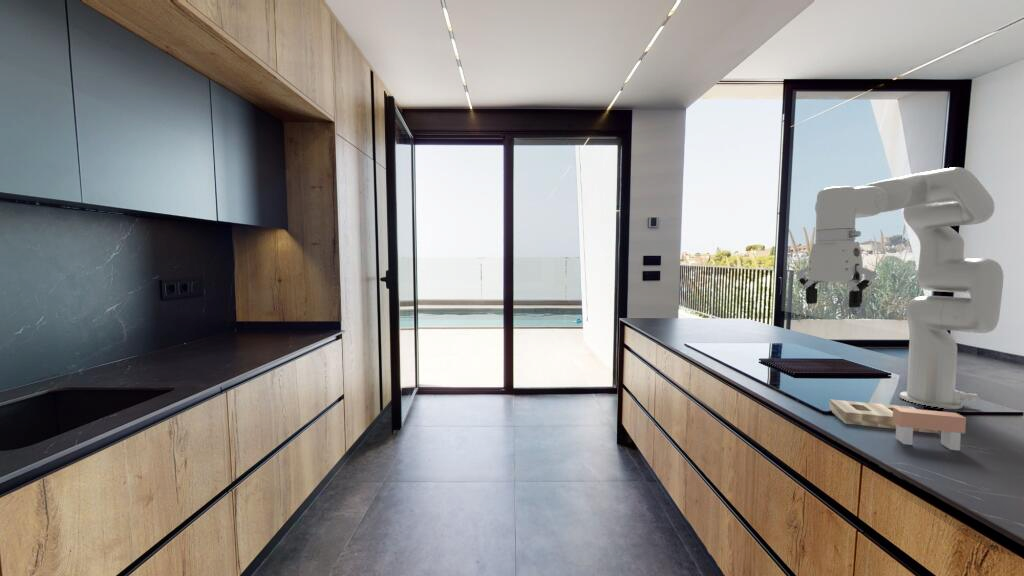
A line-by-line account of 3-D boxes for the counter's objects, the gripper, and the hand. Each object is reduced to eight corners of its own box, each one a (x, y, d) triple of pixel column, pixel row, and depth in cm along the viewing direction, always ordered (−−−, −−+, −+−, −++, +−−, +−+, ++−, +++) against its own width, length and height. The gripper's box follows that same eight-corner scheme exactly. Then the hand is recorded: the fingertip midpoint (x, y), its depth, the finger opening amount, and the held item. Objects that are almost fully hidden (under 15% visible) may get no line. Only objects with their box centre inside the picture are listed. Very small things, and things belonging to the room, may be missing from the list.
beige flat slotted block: (912, 417, 102) (912, 406, 101) (937, 433, 92) (938, 421, 92) (829, 409, 108) (829, 399, 108) (845, 423, 99) (845, 412, 99)
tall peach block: (954, 445, 86) (956, 412, 86) (964, 451, 84) (966, 417, 83) (891, 437, 90) (893, 407, 90) (899, 443, 88) (900, 411, 87)
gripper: (887, 234, 89) (883, 308, 90) (808, 239, 105) (806, 301, 106) (866, 234, 86) (863, 309, 87) (789, 239, 103) (787, 302, 104)
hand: (832, 305), depth 97 cm, fingers open, 9 cm apart
